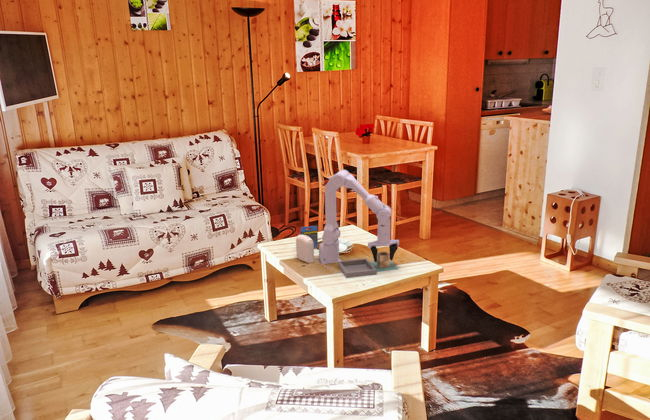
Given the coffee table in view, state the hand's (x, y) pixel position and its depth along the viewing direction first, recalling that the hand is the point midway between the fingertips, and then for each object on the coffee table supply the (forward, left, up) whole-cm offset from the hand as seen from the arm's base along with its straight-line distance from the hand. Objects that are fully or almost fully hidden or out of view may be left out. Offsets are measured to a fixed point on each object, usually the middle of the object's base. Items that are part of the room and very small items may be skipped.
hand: (383, 260), depth 237 cm
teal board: (0, 0, -3) cm, 3 cm away
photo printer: (-33, +18, -3) cm, 38 cm away
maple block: (0, 0, -3) cm, 3 cm away
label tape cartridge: (-28, +33, -3) cm, 43 cm away
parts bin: (-13, -1, -3) cm, 13 cm away
